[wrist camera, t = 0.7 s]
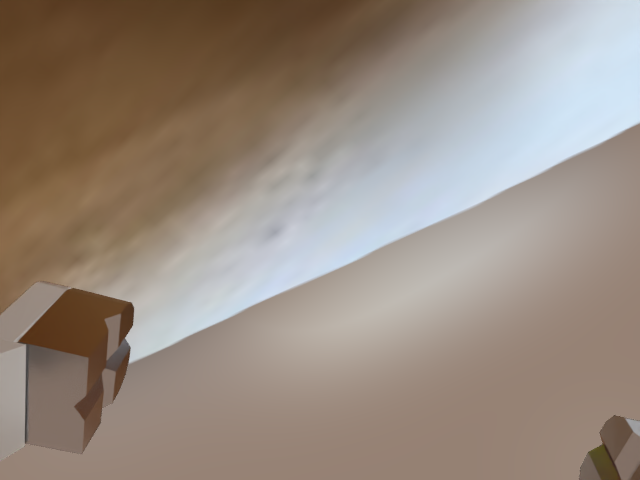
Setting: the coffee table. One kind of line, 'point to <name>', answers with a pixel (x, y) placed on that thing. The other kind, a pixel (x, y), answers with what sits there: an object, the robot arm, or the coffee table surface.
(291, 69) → the coffee table surface
